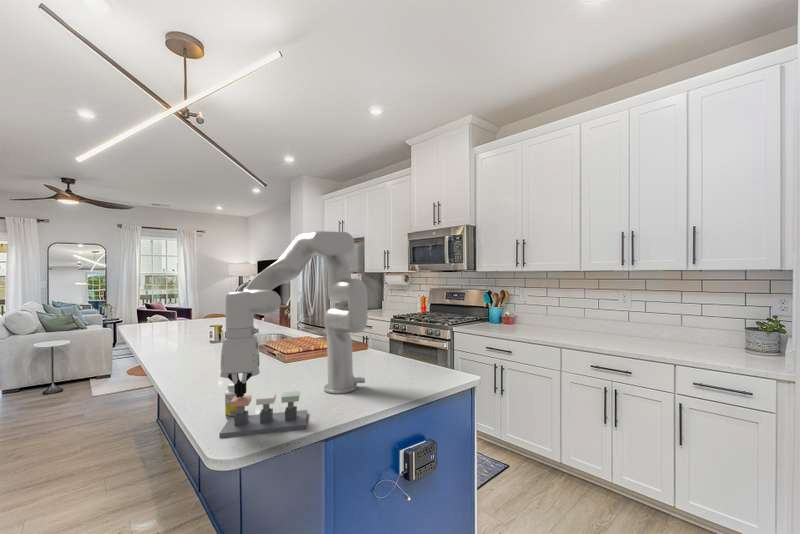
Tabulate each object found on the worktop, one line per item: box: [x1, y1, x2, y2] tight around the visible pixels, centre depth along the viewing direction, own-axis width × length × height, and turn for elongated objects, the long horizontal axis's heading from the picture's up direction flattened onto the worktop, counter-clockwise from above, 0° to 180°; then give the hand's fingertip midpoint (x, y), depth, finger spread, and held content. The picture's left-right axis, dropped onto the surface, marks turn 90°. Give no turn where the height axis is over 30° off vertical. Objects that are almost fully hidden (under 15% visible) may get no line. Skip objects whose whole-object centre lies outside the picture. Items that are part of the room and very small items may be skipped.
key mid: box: [255, 392, 277, 412], centre depth 110 cm, size 5×5×5 cm
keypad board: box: [218, 405, 308, 439], centre depth 110 cm, size 23×12×4 cm, turn 102°
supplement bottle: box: [224, 382, 238, 420], centre depth 118 cm, size 6×6×10 cm
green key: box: [281, 390, 300, 410], centre depth 112 cm, size 5×5×5 cm
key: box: [230, 394, 252, 415], centre depth 109 cm, size 5×5×5 cm
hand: (240, 396), depth 109 cm, fingers closed
